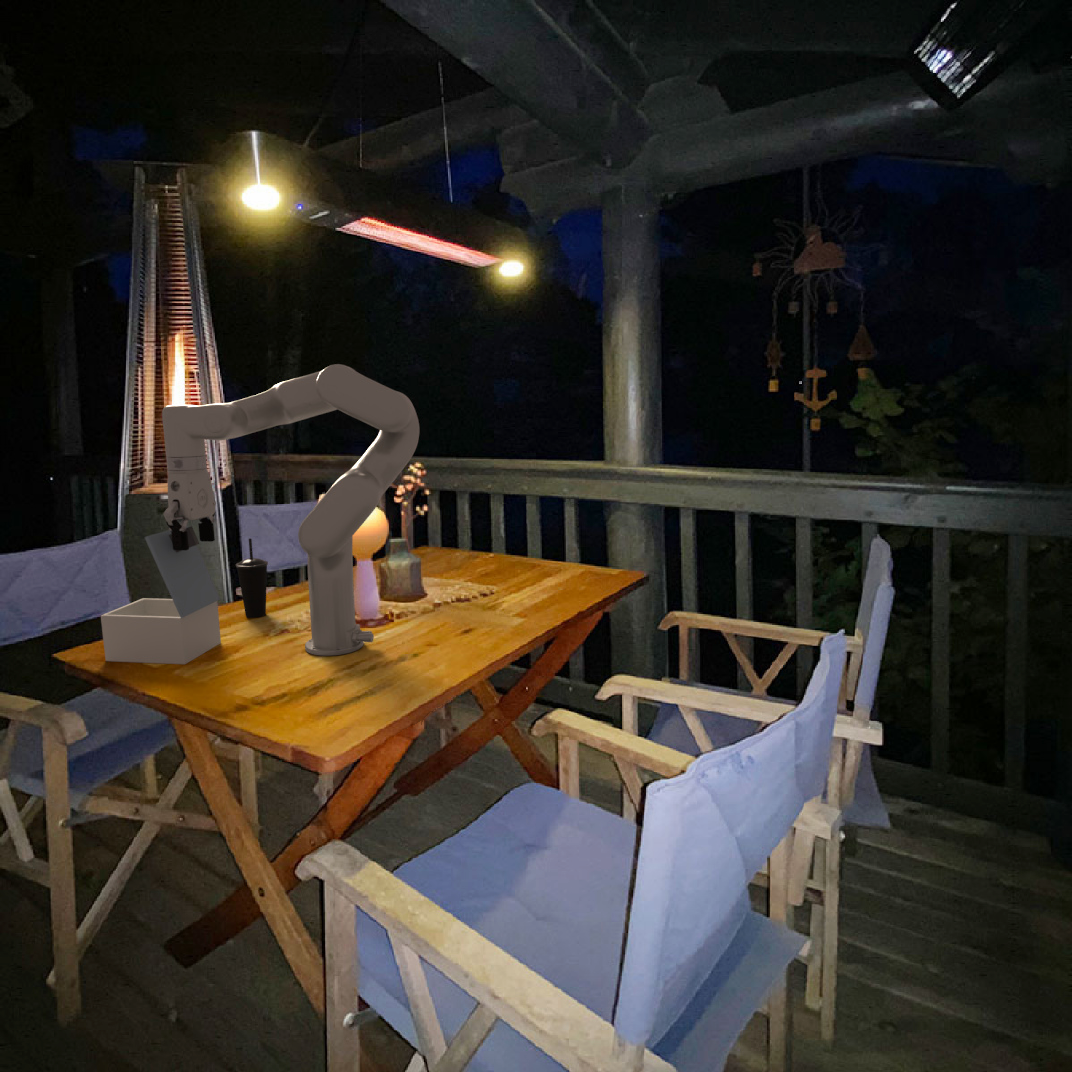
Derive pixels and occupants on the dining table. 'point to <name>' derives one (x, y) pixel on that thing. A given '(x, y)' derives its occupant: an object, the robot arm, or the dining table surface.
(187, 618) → the carton
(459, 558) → the dining table surface
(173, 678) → the dining table surface
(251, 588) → the drinking cup
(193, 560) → the lid flap
